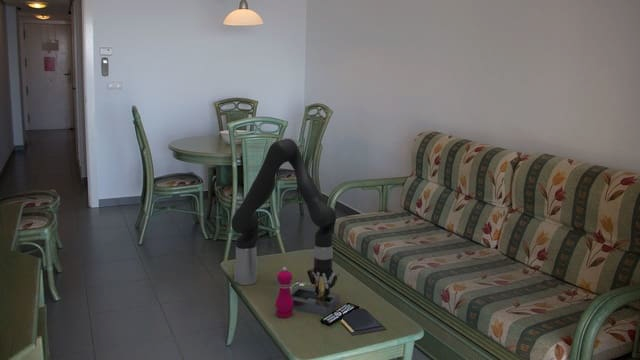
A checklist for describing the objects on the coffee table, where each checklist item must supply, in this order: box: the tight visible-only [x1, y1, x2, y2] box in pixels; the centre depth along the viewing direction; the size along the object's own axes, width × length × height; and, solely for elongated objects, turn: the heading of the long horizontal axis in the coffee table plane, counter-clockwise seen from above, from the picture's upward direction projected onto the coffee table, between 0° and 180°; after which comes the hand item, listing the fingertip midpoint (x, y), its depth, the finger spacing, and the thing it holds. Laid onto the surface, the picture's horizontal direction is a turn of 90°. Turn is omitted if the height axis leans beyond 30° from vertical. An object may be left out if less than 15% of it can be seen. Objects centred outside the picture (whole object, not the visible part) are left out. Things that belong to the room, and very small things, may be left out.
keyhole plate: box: [290, 285, 341, 317], centre depth 234 cm, size 19×14×4 cm
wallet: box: [340, 307, 387, 337], centre depth 221 cm, size 20×2×15 cm
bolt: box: [318, 276, 329, 302], centre depth 232 cm, size 6×6×14 cm
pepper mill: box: [274, 266, 293, 319], centre depth 223 cm, size 7×7×20 cm
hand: (322, 294), depth 232 cm, fingers closed on bolt, 3 cm apart
